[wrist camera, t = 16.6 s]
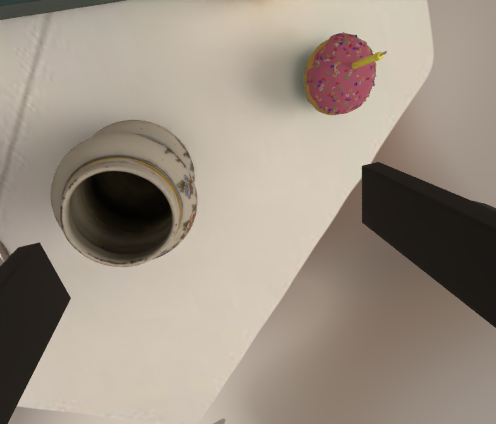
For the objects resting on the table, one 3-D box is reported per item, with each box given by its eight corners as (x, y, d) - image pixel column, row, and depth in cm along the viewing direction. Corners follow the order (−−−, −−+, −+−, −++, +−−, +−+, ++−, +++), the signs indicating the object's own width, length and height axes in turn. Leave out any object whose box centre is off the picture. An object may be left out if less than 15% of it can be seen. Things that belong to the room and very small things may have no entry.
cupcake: (301, 32, 36) (353, 11, 25) (362, 47, 38) (433, 35, 27) (286, 106, 39) (325, 116, 28) (343, 116, 41) (399, 129, 31)
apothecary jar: (204, 133, 39) (221, 172, 22) (178, 215, 42) (177, 299, 26) (104, 99, 35) (38, 115, 19) (86, 192, 38) (17, 274, 22)
